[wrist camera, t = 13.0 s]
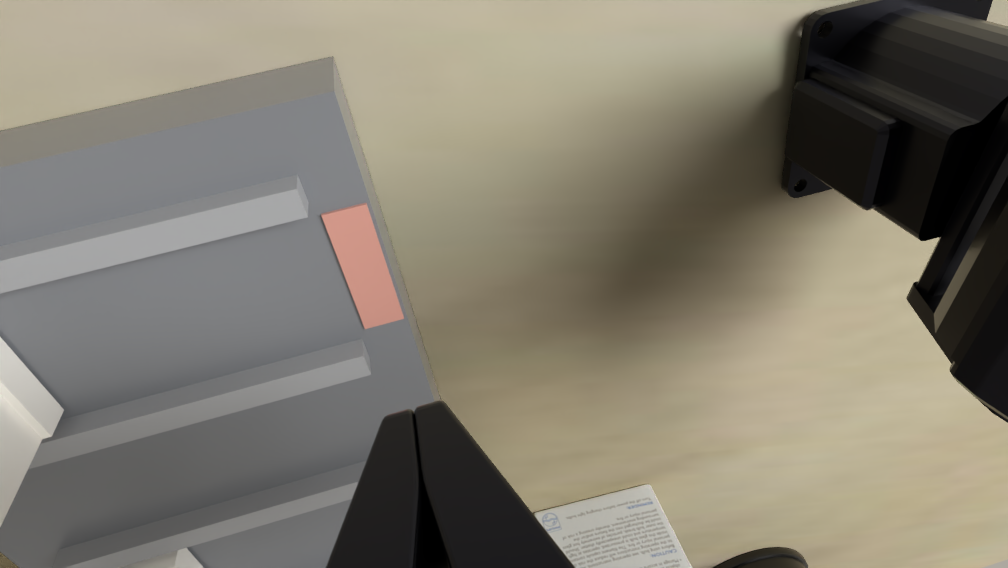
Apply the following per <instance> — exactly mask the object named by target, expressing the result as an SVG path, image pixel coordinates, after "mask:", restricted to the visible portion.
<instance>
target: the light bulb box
mask: <svg viewBox="0 0 1008 568" xmlns="http://www.w3.org/2000/svg"><path fill="white" fill-rule="evenodd" d="M534 516H535V517H536V518H537V520H538V521H539V522H540V523H541V525H542V526H543V527H544V529H545V530H546V531H547V532H548V534H549V535H550V536H551V537H552V539H553V540H554V541H555V542H556V544H557V545H558V546H559V548H560V549H561V550H562V551H563V553H564V554H565V555H566V556H567V558H568V559H569V560H570V561H571V563H572V564H573V565H574V566H575V568H692V566H691V564H690V562H689V561H688V559H687V557H686V555H685V553H684V551H683V549H682V547H681V545H680V543H679V541H678V539H677V537H676V535H675V533H674V531H673V529H672V527H671V525H670V523H669V521H668V519H667V517H666V515H665V513H664V511H663V509H662V507H661V505H660V503H659V501H658V499H657V497H656V495H655V493H654V491H653V489H652V487H651V486H650V485H649V484H645V485H641V486H637V487H633V488H629V489H625V490H622V491H617V492H613V493H609V494H606V495H602V496H598V497H594V498H590V499H586V500H582V501H578V502H574V503H570V504H566V505H562V506H558V507H554V508H551V509H547V510H543V511H539V512H535V513H534Z"/></svg>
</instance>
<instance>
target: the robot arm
mask: <svg viewBox="0 0 1008 568" xmlns="http://www.w3.org/2000/svg"><path fill="white" fill-rule="evenodd" d="M992 1H993V0H860V1H856V2H852V3H848V4H843V5H839V6H835V7H831V8H826V9H822V10H819V11H816V12H814V13H813V14H812V15H811V16H810V17H808V19H807V21H806V22H805V24H804V27H803V31H802V38H801V46H800V53H799V60H798V67H797V75H796V82H795V88H794V90H793V97H792V105H791V112H790V119H789V126H788V134H787V141H786V148H785V162H784V169H783V177H782V184H781V185H782V190H783V191H784V192H785V193H786V194H788V195H789V196H790V197H793V198H799V197H803V196H806V195H810V194H814V193H818V192H822V191H825V190H829V189H834V190H835V191H837V192H838V193H840V194H841V195H843V196H844V197H846V198H847V199H849V200H850V201H852V202H853V203H855V204H856V205H858V206H859V207H861V208H862V209H864V210H870V209H874V210H875V211H877V212H878V213H880V214H881V215H883V216H884V217H886V218H887V219H889V220H890V221H892V222H893V223H895V224H896V225H898V226H900V227H901V228H903V229H904V230H906V231H907V232H909V233H910V234H912V235H913V236H915V237H916V238H918V239H919V240H921V241H926V240H930V239H933V238H937V237H939V238H940V239H939V241H938V243H937V245H936V247H935V249H934V251H933V253H932V255H931V257H930V259H929V261H928V263H927V265H926V267H925V269H924V271H923V273H922V275H921V277H920V279H919V281H918V282H915V283H914V284H913V286H912V288H911V290H910V292H909V294H908V296H907V300H908V302H909V303H910V305H911V306H912V308H913V309H914V310H915V312H916V313H917V315H918V316H919V318H920V319H921V320H922V322H923V323H924V325H925V326H926V328H927V329H928V331H929V332H930V333H931V335H932V336H933V338H934V339H935V341H936V342H937V343H938V345H939V346H940V348H941V349H942V351H943V352H944V354H945V355H946V356H947V358H948V359H949V361H950V362H951V364H952V365H951V367H950V372H951V374H952V375H953V377H954V378H955V379H956V381H957V382H958V383H959V384H961V385H962V386H963V387H964V388H965V389H966V390H967V391H969V392H970V393H971V394H972V395H973V396H974V397H975V398H977V399H978V400H979V401H980V402H981V403H982V404H983V405H984V406H986V407H987V408H988V409H989V410H990V411H991V412H992V413H993V414H995V415H997V416H998V417H1000V418H1001V419H1003V420H1004V421H1006V422H1008V27H1007V26H1003V25H1000V24H996V23H992V22H988V21H986V20H987V17H988V14H989V10H990V7H991V4H992ZM822 23H824V24H825V25H824V28H823V30H822V31H821V32H820V33H819V34H818V29H819V27H820V26H821V24H822ZM799 180H800V181H799ZM798 181H799V183H798V184H797V185H796V186H795V184H796V183H797V182H798ZM326 568H575V566H574V565H573V564H572V563H571V561H570V560H569V559H568V558H567V556H566V555H565V554H564V553H563V551H562V550H561V549H560V548H559V546H558V545H557V544H556V542H555V541H554V540H553V539H552V537H551V536H550V535H549V534H548V532H547V531H546V530H545V529H544V527H543V526H542V525H541V523H540V522H539V521H538V520H537V518H536V517H535V516H534V515H533V513H532V512H531V511H530V510H529V508H528V507H527V506H526V505H525V503H524V502H523V501H522V499H521V498H520V497H519V496H518V494H517V493H516V492H515V491H514V489H513V488H512V487H511V486H510V484H509V483H508V482H507V480H506V479H505V478H504V477H503V475H502V474H501V473H500V472H499V470H498V469H497V468H496V467H495V465H494V464H493V463H492V462H491V460H490V459H489V458H488V456H487V455H486V454H485V453H484V451H483V450H482V449H481V448H480V446H479V445H478V444H477V443H476V441H475V440H474V439H473V437H472V436H471V435H470V434H469V432H468V431H467V430H466V429H465V427H464V426H463V425H462V424H461V422H460V421H459V420H458V419H457V417H456V416H455V415H454V413H453V412H452V411H451V410H450V408H449V407H448V406H447V405H446V403H445V402H443V401H441V400H439V401H435V402H431V403H428V404H424V405H421V406H418V407H416V408H415V411H413V410H411V409H406V410H403V411H399V412H396V413H392V414H389V415H386V416H385V417H384V418H383V419H382V422H381V424H380V427H379V429H378V432H377V434H376V437H375V440H374V442H373V445H372V448H371V450H370V453H369V455H368V458H367V461H366V463H365V466H364V468H363V471H362V474H361V476H360V479H359V482H358V484H357V487H356V489H355V492H354V495H353V497H352V500H351V503H350V505H349V508H348V510H347V513H346V516H345V518H344V521H343V524H342V526H341V529H340V531H339V534H338V537H337V539H336V542H335V544H334V547H333V550H332V552H331V555H330V558H329V560H328V563H327V565H326Z"/></svg>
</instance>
